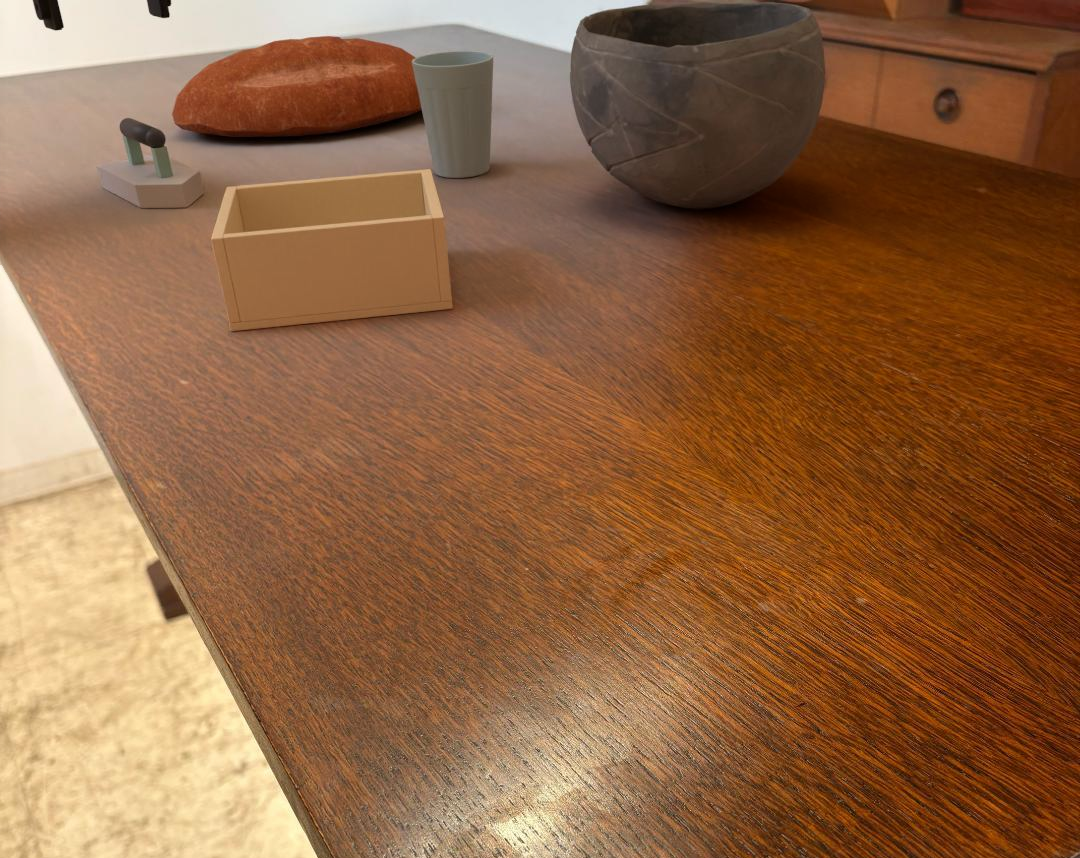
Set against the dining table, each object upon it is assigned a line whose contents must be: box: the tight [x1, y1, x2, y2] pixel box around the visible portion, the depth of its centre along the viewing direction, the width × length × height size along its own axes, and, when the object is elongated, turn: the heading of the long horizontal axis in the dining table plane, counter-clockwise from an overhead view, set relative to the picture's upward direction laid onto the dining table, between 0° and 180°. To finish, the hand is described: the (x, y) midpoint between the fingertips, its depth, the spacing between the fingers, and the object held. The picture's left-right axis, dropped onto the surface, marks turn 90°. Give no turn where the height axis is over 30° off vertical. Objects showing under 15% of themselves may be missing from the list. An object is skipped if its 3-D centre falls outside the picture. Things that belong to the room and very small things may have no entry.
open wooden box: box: [210, 168, 454, 332], centre depth 80 cm, size 16×13×7 cm
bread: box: [171, 35, 422, 138], centre depth 127 cm, size 23×32×9 cm
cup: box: [412, 50, 494, 179], centre depth 105 cm, size 8×8×10 cm
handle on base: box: [96, 117, 205, 209], centre depth 104 cm, size 13×6×6 cm, turn 39°
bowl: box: [569, 1, 826, 210], centre depth 92 cm, size 21×21×15 cm
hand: (108, 22), depth 98 cm, fingers open, 9 cm apart
